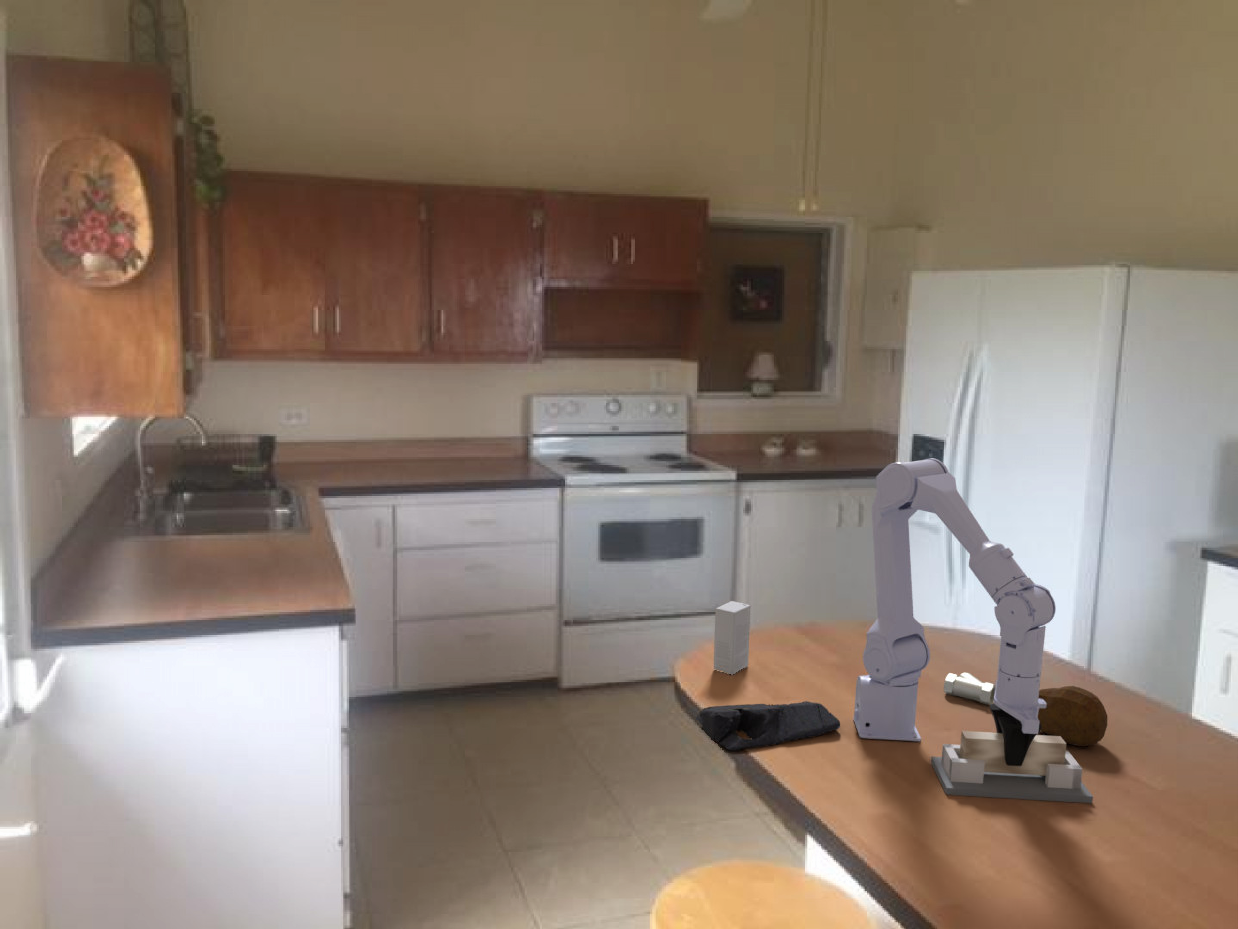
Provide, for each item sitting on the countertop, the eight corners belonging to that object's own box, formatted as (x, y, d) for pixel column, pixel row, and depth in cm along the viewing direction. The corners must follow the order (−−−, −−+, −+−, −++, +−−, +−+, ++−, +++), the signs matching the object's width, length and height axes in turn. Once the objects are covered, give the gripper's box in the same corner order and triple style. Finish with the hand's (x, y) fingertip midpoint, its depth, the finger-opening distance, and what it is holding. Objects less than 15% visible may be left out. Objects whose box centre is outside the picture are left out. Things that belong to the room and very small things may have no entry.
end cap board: (946, 794, 149) (948, 768, 148) (930, 762, 159) (932, 737, 158) (1092, 803, 147) (1095, 776, 147) (1067, 770, 157) (1070, 745, 156)
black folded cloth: (852, 743, 166) (854, 715, 165) (721, 756, 160) (722, 727, 159) (809, 705, 180) (811, 679, 179) (688, 715, 174) (689, 688, 174)
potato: (1051, 719, 176) (1056, 669, 174) (1118, 746, 166) (1124, 694, 164) (1019, 730, 171) (1024, 679, 170) (1085, 758, 161) (1091, 704, 160)
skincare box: (728, 661, 199) (731, 600, 197) (748, 666, 196) (751, 604, 194) (712, 670, 194) (714, 607, 192) (732, 676, 191) (735, 612, 189)
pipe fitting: (957, 688, 190) (942, 696, 185) (959, 667, 190) (945, 674, 184) (1001, 700, 185) (988, 708, 180) (1004, 678, 185) (990, 686, 179)
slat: (963, 771, 152) (965, 738, 151) (958, 763, 154) (961, 731, 153) (1062, 776, 151) (1066, 743, 150) (1057, 768, 153) (1060, 736, 152)
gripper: (1065, 691, 143) (1055, 785, 145) (1032, 654, 157) (1024, 740, 159) (1012, 688, 143) (1003, 782, 145) (983, 651, 157) (976, 737, 160)
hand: (1010, 760), depth 152 cm, fingers closed on slat, 2 cm apart
